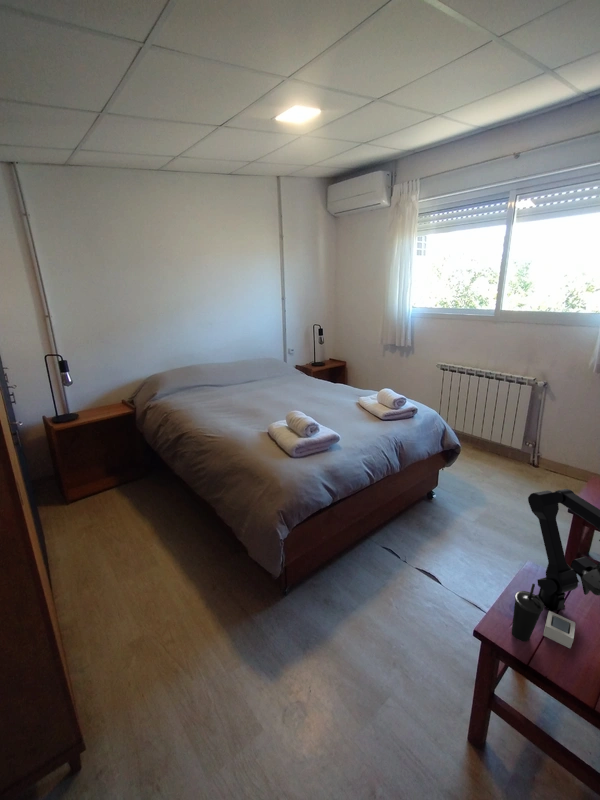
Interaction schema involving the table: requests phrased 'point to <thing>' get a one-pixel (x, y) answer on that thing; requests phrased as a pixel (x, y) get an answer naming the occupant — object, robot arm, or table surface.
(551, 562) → the robot arm
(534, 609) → the drinking cup
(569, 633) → the switch box
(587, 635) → the table surface
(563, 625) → the button
